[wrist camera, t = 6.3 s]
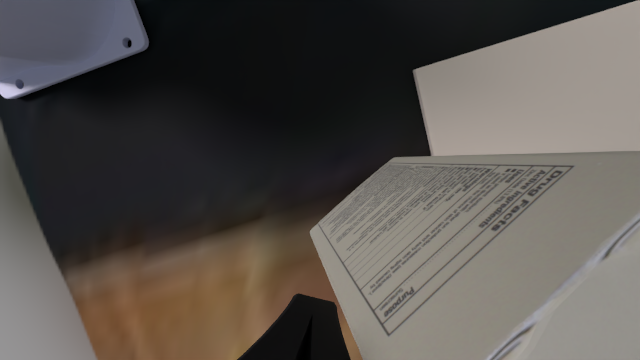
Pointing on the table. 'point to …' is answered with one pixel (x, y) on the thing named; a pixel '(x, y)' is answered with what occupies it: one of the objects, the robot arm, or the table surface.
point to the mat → (540, 91)
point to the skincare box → (490, 257)
